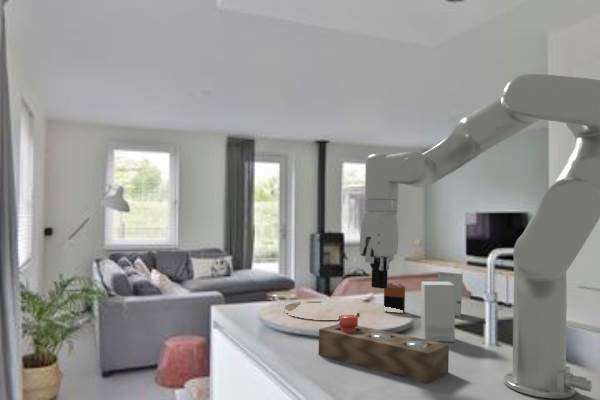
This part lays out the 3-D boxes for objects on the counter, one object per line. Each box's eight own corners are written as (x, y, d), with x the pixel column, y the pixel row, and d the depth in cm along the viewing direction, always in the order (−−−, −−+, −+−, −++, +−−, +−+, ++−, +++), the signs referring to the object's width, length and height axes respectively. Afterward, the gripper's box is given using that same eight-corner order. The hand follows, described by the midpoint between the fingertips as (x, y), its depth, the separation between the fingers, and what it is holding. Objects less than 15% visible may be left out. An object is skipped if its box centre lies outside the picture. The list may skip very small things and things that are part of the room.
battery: (385, 310, 170) (386, 282, 170) (404, 311, 168) (405, 283, 168) (383, 312, 166) (384, 283, 166) (403, 314, 163) (403, 285, 164)
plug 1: (393, 358, 108) (394, 335, 109) (383, 363, 105) (384, 339, 105) (377, 354, 111) (377, 332, 111) (366, 358, 108) (367, 335, 108)
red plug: (360, 339, 114) (361, 316, 114) (350, 342, 111) (350, 319, 111) (345, 335, 117) (346, 314, 117) (335, 338, 114) (335, 316, 114)
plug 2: (430, 368, 102) (431, 343, 103) (421, 372, 99) (421, 347, 99) (412, 363, 105) (412, 339, 106) (402, 368, 102) (402, 343, 102)
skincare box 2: (436, 314, 164) (437, 271, 165) (437, 311, 170) (438, 269, 171) (461, 316, 162) (462, 273, 162) (462, 313, 167) (462, 271, 168)
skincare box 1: (450, 336, 134) (451, 281, 134) (455, 343, 127) (456, 284, 128) (419, 335, 134) (420, 280, 135) (423, 341, 128) (424, 283, 128)
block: (448, 372, 103) (448, 344, 103) (427, 383, 95) (428, 353, 95) (342, 346, 121) (343, 322, 121) (318, 354, 113) (319, 329, 114)
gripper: (383, 208, 118) (381, 282, 117) (349, 206, 106) (347, 288, 106) (411, 208, 113) (409, 286, 112) (378, 207, 101) (376, 293, 101)
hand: (379, 287), depth 109 cm, fingers closed
